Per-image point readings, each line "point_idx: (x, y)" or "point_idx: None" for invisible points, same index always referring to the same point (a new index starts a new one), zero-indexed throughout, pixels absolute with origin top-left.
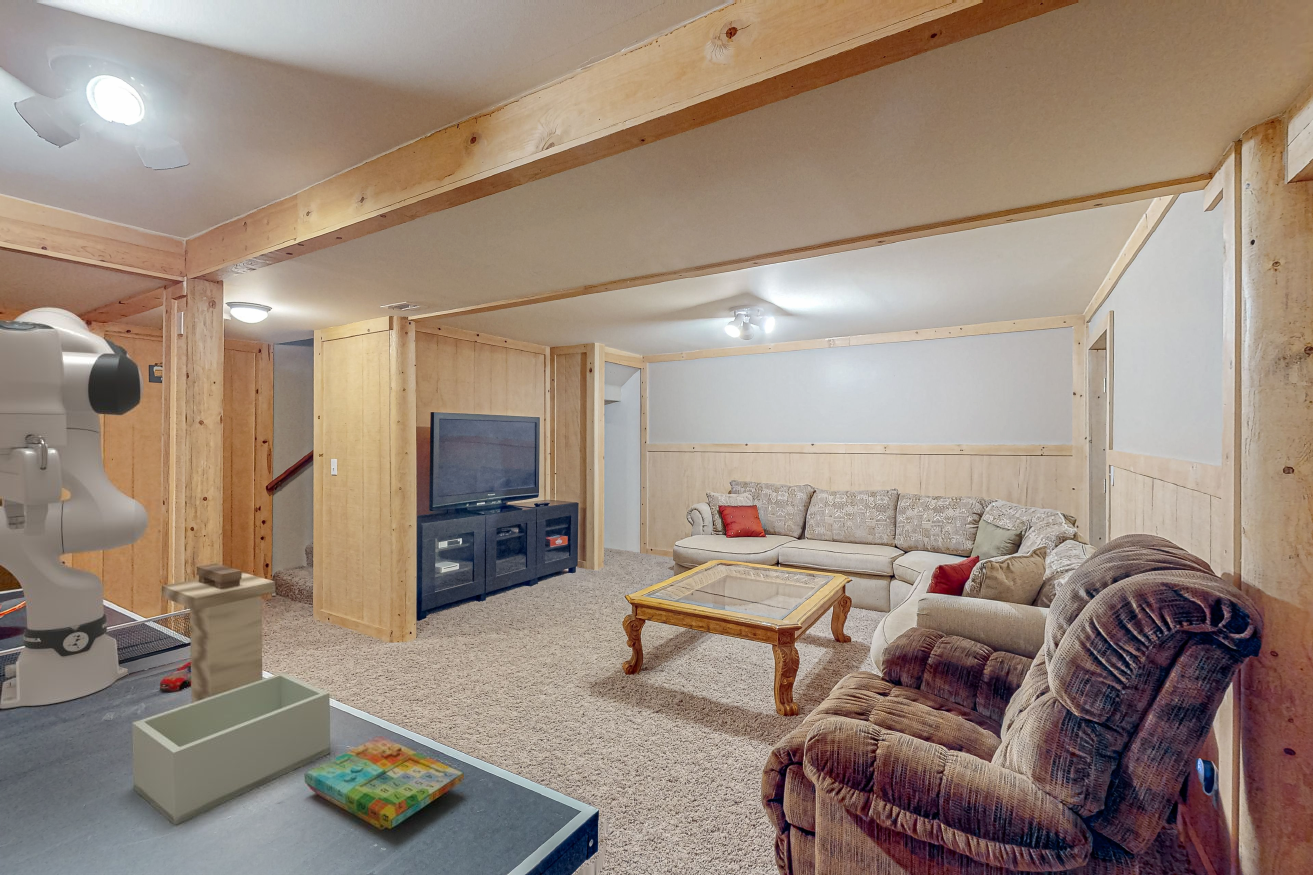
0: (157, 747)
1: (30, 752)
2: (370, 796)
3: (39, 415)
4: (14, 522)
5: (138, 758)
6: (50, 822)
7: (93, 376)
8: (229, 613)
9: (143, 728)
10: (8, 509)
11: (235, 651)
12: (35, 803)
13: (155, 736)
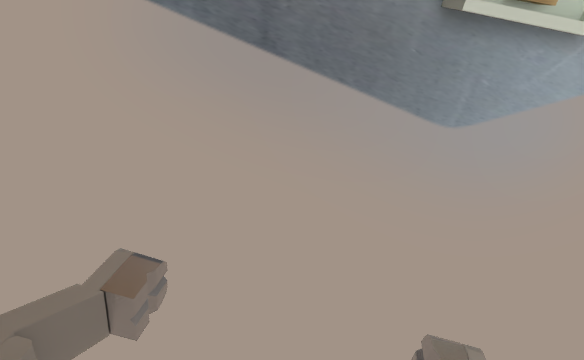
0: (564, 31)
1: (211, 9)
2: None
3: None
4: (147, 305)
5: (471, 12)
6: (411, 82)
7: None
8: None
9: (503, 15)
10: (59, 356)
11: None
12: (354, 69)
13: (553, 24)
